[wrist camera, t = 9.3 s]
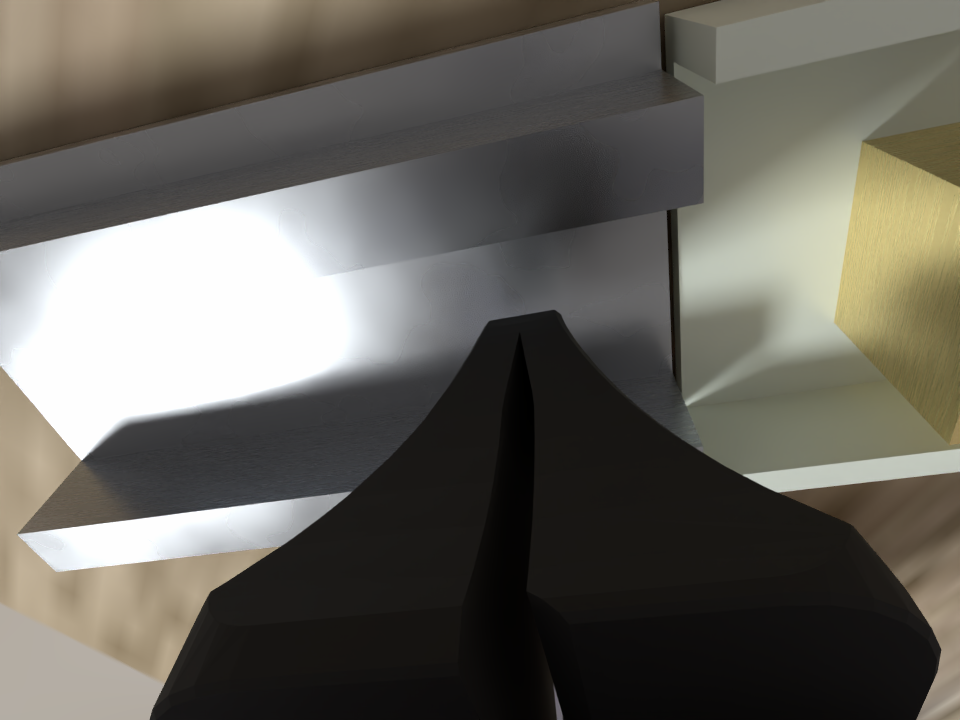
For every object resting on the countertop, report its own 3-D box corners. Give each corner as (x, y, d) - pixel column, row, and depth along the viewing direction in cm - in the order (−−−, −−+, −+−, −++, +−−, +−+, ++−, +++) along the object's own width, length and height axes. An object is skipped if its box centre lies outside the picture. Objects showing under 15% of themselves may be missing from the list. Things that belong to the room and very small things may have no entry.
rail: (666, 423, 15) (702, 528, 12) (149, 493, 18) (80, 594, 15) (646, -1, 10) (703, 9, 7) (-97, 185, 12) (-281, 250, 9)
